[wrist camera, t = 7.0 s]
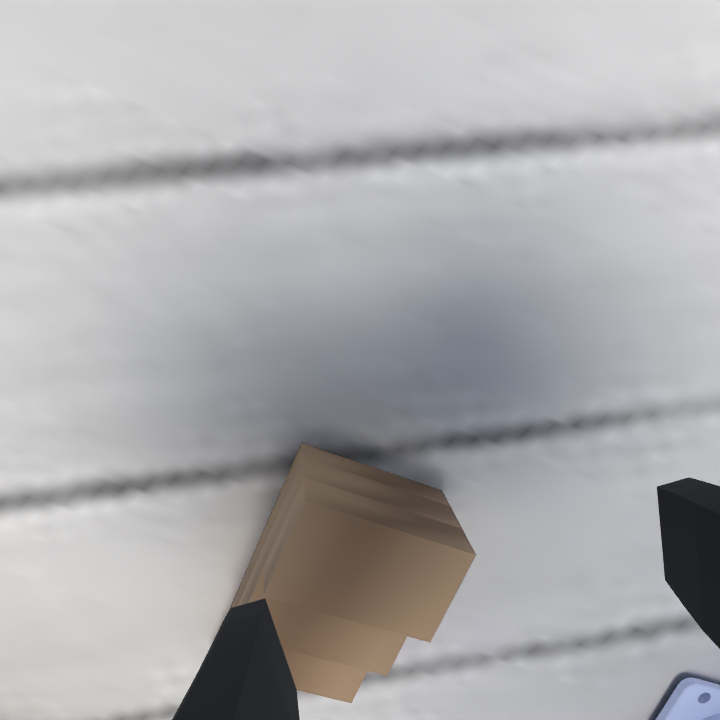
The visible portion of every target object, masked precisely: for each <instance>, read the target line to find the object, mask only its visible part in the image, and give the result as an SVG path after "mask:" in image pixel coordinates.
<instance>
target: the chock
mask: <svg viewBox="0 0 720 720" xmlns="http://www.w3.org/2000/svg"><path fill="white" fill-rule="evenodd" d="M475 556H476V554H475V552H474V550H473V548H472V546H471V545H470V543H469V541H468V539H467V537H466V535H465V533H464V531H463V529H462V528H461V526H460V524H459V522H458V520H457V518H456V516H455V514H454V512H453V511H452V509H451V507H450V505H449V503H448V501H447V499H446V497H445V495H444V493H443V492H442V491H441V490H438V489H435V488H432V487H429V486H427V485H424V484H421V483H418V482H415V481H412V480H409V479H406V478H403V477H400V476H397V475H394V474H391V473H388V472H385V471H383V470H380V469H377V468H374V467H371V466H368V465H365V464H362V463H359V462H356V461H353V460H350V459H347V458H344V457H341V456H338V455H336V454H333V453H330V452H327V451H324V450H321V449H318V448H315V447H312V446H309V445H306V444H303V443H301V445H300V447H299V450H298V452H297V454H296V457H295V459H294V461H293V463H292V466H291V468H290V470H289V473H288V475H287V477H286V480H285V482H284V484H283V487H282V489H281V491H280V494H279V496H278V498H277V501H276V503H275V505H274V508H273V510H272V512H271V515H270V517H269V519H268V522H267V524H266V526H265V529H264V531H263V533H262V536H261V538H260V540H259V543H258V545H257V547H256V549H255V552H254V554H253V556H252V559H251V561H250V563H249V566H248V568H247V570H246V573H245V575H244V577H243V580H242V582H241V584H240V587H239V589H238V591H237V594H236V596H235V598H234V601H233V603H232V605H231V608H233V607H236V606H240V605H243V604H247V603H250V602H254V601H257V600H261V599H264V598H265V599H266V602H267V605H268V608H269V611H270V614H271V617H272V619H273V622H274V625H275V628H276V631H277V634H278V637H279V640H280V643H281V646H282V648H283V651H284V654H285V657H286V660H287V663H288V666H289V669H290V672H291V675H292V677H293V680H294V683H295V686H296V690H299V691H303V692H308V693H312V694H316V695H320V696H324V697H328V698H332V699H336V700H341V701H345V702H349V703H352V701H353V699H354V697H355V695H356V693H357V691H358V689H359V687H360V685H361V683H362V681H363V679H364V677H365V675H366V673H367V671H371V672H375V673H378V674H382V675H386V676H387V675H388V673H389V671H390V669H391V667H392V665H393V663H394V661H395V659H396V657H397V655H398V653H399V651H400V649H401V647H402V645H403V643H404V641H405V639H406V637H407V636H409V637H412V638H416V639H419V640H423V641H427V642H431V640H432V638H433V636H434V634H435V632H436V630H437V628H438V626H439V624H440V623H441V621H442V619H443V617H444V615H445V613H446V611H447V609H448V607H449V605H450V603H451V602H452V600H453V598H454V596H455V594H456V592H457V590H458V588H459V586H460V584H461V582H462V581H463V579H464V577H465V575H466V573H467V571H468V569H469V567H470V565H471V563H472V561H473V560H474V558H475ZM231 608H230V609H231Z"/></svg>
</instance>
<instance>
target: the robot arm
mask: <svg viewBox="0 0 720 720" xmlns="http://www.w3.org/2000/svg"><path fill="white" fill-rule="evenodd" d="M657 493H658V504H659V515H660V527H661V538H662V549H663V561H664V572H665V580H666V582H667V583H668V585H669V586H670V587H671V589H672V590H673V591H674V593H675V594H676V596H677V597H678V598H679V600H680V601H681V602H682V604H683V605H684V607H685V608H686V609H687V611H688V612H689V613H690V614H691V616H692V617H693V618H694V620H695V621H696V622H697V623H698V625H699V626H700V627H701V629H702V630H703V631H704V632H705V633H706V634H707V635H708V637H709V638H710V639H711V640H712V641H713V642H714V643H715V644H716V645H717V646H718V647H719V648H720V486H716V485H713V484H710V483H707V482H703V481H700V480H696V479H692V478H686V479H682V480H679V481H675V482H672V483H668V484H665V485H661V486H658V487H657ZM172 720H299V710H298V700H297V690H296V686H295V683H294V680H293V677H292V675H291V672H290V669H289V666H288V663H287V660H286V657H285V654H284V651H283V648H282V646H281V643H280V640H279V637H278V634H277V631H276V628H275V625H274V622H273V619H272V617H271V614H270V611H269V608H268V605H267V602H266V599H265V598H264V599H261V600H257V601H254V602H250V603H247V604H243V605H240V606H236V607H233V608H231V609H230V610H229V612H228V613H227V615H226V617H225V619H224V621H223V623H222V625H221V627H220V629H219V631H218V633H217V635H216V637H215V639H214V641H213V643H212V645H211V647H210V649H209V651H208V653H207V655H206V657H205V659H204V661H203V663H202V665H201V667H200V669H199V671H198V673H197V675H196V677H195V679H194V681H193V682H192V684H191V686H190V688H189V690H188V692H187V693H186V695H185V697H184V699H183V701H182V703H181V705H180V706H179V708H178V710H177V712H176V714H175V716H174V717H173V719H172ZM656 720H720V685H718V684H715V683H711V682H708V681H704V680H700V679H697V678H686V679H684V680H682V681H681V682H680V683H679V684H678V685H677V687H676V688H675V690H674V692H673V693H672V695H671V696H670V698H669V699H668V701H667V703H666V704H665V706H664V707H663V709H662V711H661V712H660V714H659V715H658V717H657V718H656Z"/></svg>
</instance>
